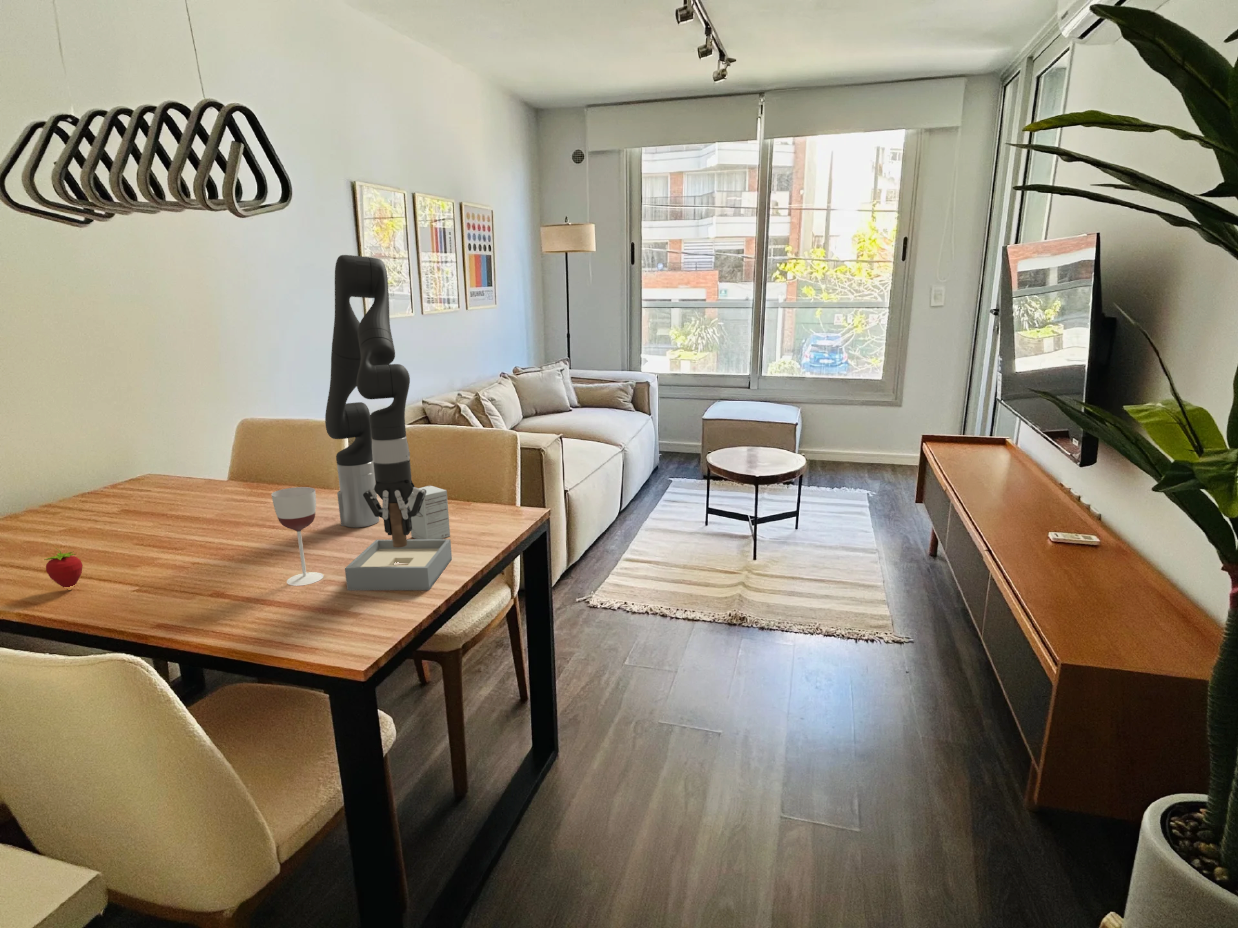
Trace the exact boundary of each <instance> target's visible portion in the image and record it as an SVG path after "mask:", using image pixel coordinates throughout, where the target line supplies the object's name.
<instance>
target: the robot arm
mask: <svg viewBox="0 0 1238 928" xmlns="http://www.w3.org/2000/svg"><path fill="white" fill-rule="evenodd" d="M353 297H354V298H364V299H373V303H372V305H371V306H370V308H369V309H368V311H366V313H365V314H364V316H363V317H362V318H361V320H360V321H359V319H358V318H357V316H356V314H355V311H354V310H353V307H352V305H351V301H350V300H351V298H353ZM333 321H334V323H333V332H332V342H331V355H330V357H331V358H330V378H329V379H330V381H329V390H328V396H327V402H326V407H325V408H326V409H325V415H324V416H325V417H324V418H325V419H324V421H325V422H324V424H325V429H326V434H327V435H328V436H329V437H330V438H331V439H333V440H344V439H345V440H346V439H353V438H355V439H354V441H353V442H352V443H350V444H349V446H346V447H345V448H343V449H341V450H339V451H337V453H336V456H335V458H336V467H337V475H338V484H339V485H338V486H339V491H337V501H338V502H337V503H338V510H339V511H338V512H339V517H340V518H339V519H340V521H339V522H340V526H341V527H342V526H344V527H348V528H364V527H369V526H373V525H376V524H377V523H379V522H380V518H381V519H383V525H384V532H385V533H386V534H387V536H392V532H391V522H390V512H389V503H398V505H399V509H400V510H401V512H402V516H403V518H404V519H403V520H402V523H403V533H404V535H406V536H408V535H410V534H411V531H412V521H411V517H414V516H416V515H417V514H418V513H419V511H420V509H421V506H422V503H423V500H424V498H425V495H426V490H425V489H422V490H421V489H418V487H415V484H414V483H413V481H412V479H413V478H412V468H411V458H410V457H411V453H410V448H409V447H410V446H409V443H408V440H407V439H408V438H407V432H406V431H407V430H406V417H405V416H406V405H407V404H406V403H407V398H408V394H409V390H410V382H411V378H410V377H411V376H410V373H409V371H408V369H407V368H406V367H405V366H404V365H402V364H399V363H394V364H391V363H393V362H394V360H395V358H396V351H395V345H394V340H393V336H392V335H393V334H392V331H391V330H392V329H391V324H390V321H391V320H390V297H389V279H388V271H387V268H386V265H385V263H384V261H383V260H382V259H381V258H377V257H370V256H361V255H352V254H351V255H350V254H349V255H348V254H342V255H339V256H338V257H337V259H336V261H335V267H334V320H333ZM355 388H357V391H358V393H359V395H360V396H362V397H363V398H364V399H367V400H379V399H380V400H381V399H382V400H383V399H393V400H392V402H391V404H390V405H388V406H386V407H384V408H380V409H377V410H374V411H372V412H370V410H369V408H368V406H367V404H366V403H365V402H363V401H362V402H360V401H359V402H356V401H355V402H348V403H347V401H348V399H349V397H350V395H351V394H352V392H354V390H355ZM412 492H413V493H414V498H415V499H416V500H415V502H414V505H413V508H412V510H411V509H410V502H409V497H410V495H411V493H412ZM378 497H379V498H380V499H381V500H382V505H381V504H380V502H379V500H378Z"/></svg>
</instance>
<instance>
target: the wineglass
mask: <svg viewBox="0 0 1238 928" xmlns="http://www.w3.org/2000/svg"><path fill="white" fill-rule="evenodd" d="M271 500H272V504H273V508H274V512H275V514H276V517H277V520H278V522H279V523H280V524H281V525H282V526H283V527H285V528H287V529H289V530H292V531H295V532H296V535H297V543H298V548H299V556H300V565H301V573H299V574H295V575H292V576H291V577H289V578H288V579H287V580H286V584H288V585H289V586H295V587H296V586H297V587H298V586H306V585H311V584H315V583H317V582H319V581H321V580H322V579H323V578H324V574H323V573H321V572H316V571H312V572H311V571H310V572H307V569H306V568H307V567H306V560H305V554H304V545H303V538H302V530H304V529H306V528H307V527H309V526H310V525H311V524H312V523H313V522H314V520H315V518H316V508H317V495H316V489H315V488H313V487H309V486H299V487H298V486H297V487H289V488H281V489H278V490H275V491H273V492H272V493H271Z"/></svg>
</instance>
